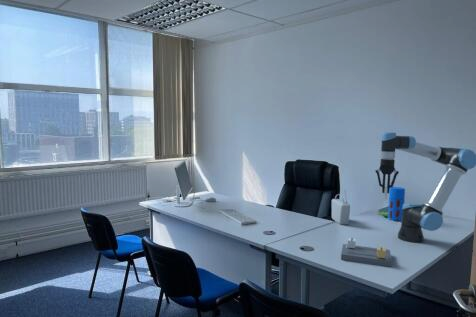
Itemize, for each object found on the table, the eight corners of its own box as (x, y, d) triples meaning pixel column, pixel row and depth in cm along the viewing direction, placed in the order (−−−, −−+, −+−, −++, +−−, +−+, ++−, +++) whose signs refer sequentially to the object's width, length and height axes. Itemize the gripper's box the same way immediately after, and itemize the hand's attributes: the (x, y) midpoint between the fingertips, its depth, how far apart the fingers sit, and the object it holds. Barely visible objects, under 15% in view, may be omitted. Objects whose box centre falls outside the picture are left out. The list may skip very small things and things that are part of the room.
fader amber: (384, 255, 186) (385, 247, 185) (385, 258, 181) (385, 250, 181) (376, 254, 187) (377, 246, 187) (377, 257, 182) (377, 249, 182)
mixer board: (389, 255, 196) (389, 249, 195) (391, 266, 179) (392, 261, 179) (342, 249, 204) (343, 243, 204) (340, 259, 187) (341, 254, 187)
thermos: (404, 221, 269) (406, 189, 266) (389, 220, 271) (391, 188, 268) (401, 218, 279) (402, 187, 277) (386, 217, 281) (388, 186, 279)
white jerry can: (351, 225, 254) (353, 191, 252) (340, 225, 254) (342, 191, 251) (340, 218, 276) (342, 186, 274) (330, 218, 275) (331, 186, 273)
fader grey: (355, 245, 200) (355, 238, 200) (355, 248, 195) (355, 241, 195) (348, 244, 201) (348, 237, 201) (347, 247, 197) (348, 240, 196)
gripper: (399, 158, 206) (396, 198, 208) (375, 157, 210) (373, 196, 212) (400, 159, 199) (397, 200, 201) (375, 158, 203) (373, 198, 205)
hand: (385, 198), depth 206 cm, fingers closed
